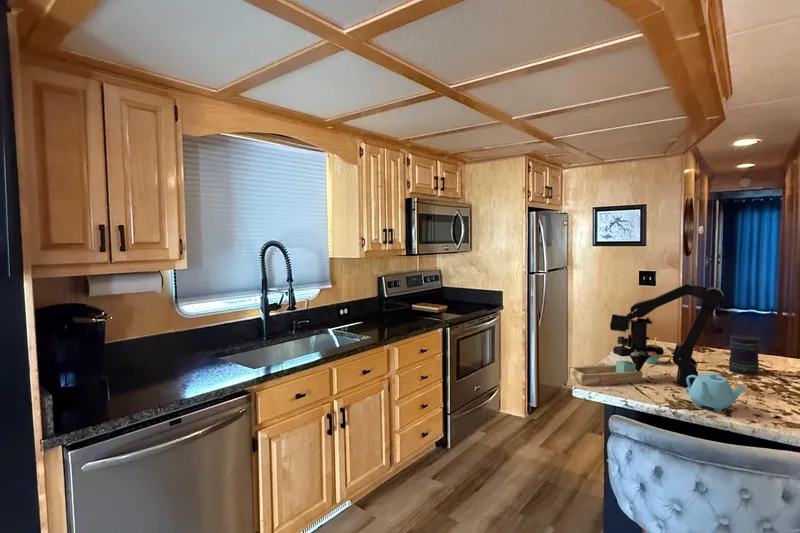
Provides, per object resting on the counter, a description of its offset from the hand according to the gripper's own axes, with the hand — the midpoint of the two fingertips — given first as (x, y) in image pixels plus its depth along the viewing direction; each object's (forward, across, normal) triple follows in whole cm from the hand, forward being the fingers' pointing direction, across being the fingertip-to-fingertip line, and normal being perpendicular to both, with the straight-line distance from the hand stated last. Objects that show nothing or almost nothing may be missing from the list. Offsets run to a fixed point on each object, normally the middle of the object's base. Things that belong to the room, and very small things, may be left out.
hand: (637, 371), depth 177 cm
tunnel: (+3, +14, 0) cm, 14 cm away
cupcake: (+3, -20, -18) cm, 27 cm away
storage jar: (+3, -48, +1) cm, 48 cm away
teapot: (+3, -4, +32) cm, 32 cm away
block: (+1, +6, 0) cm, 6 cm away
